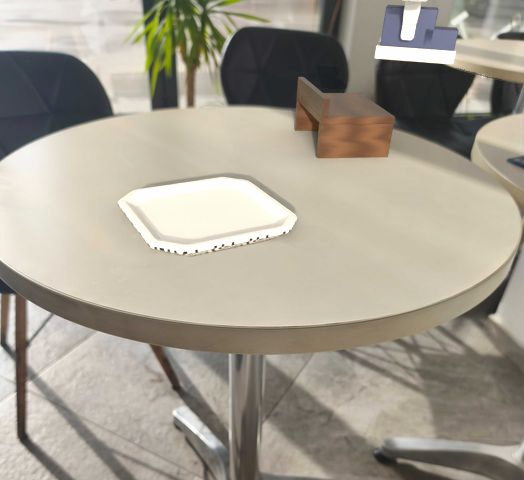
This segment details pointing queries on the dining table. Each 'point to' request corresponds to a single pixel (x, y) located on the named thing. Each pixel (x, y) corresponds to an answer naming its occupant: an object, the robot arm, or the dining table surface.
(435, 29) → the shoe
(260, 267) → the dining table surface
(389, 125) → the shoe shelf
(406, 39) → the robot arm
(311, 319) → the dining table surface
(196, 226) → the plate
